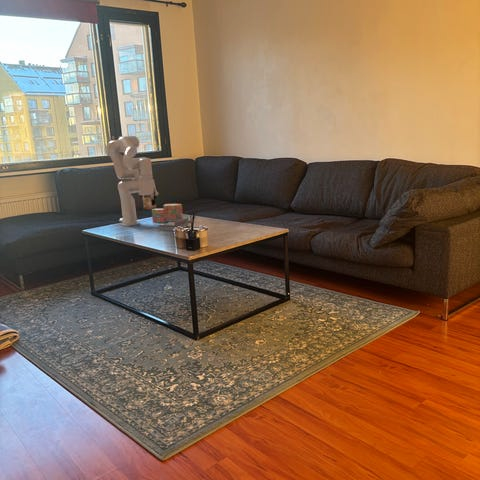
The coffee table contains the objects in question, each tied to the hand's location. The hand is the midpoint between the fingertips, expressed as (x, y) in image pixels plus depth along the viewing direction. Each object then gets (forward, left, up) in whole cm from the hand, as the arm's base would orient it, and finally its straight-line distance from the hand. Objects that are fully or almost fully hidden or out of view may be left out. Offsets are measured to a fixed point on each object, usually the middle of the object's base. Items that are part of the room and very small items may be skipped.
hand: (149, 204), depth 320 cm
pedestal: (0, 0, -2) cm, 2 cm away
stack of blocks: (-7, +31, -18) cm, 36 cm away
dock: (+11, +10, -17) cm, 23 cm away
